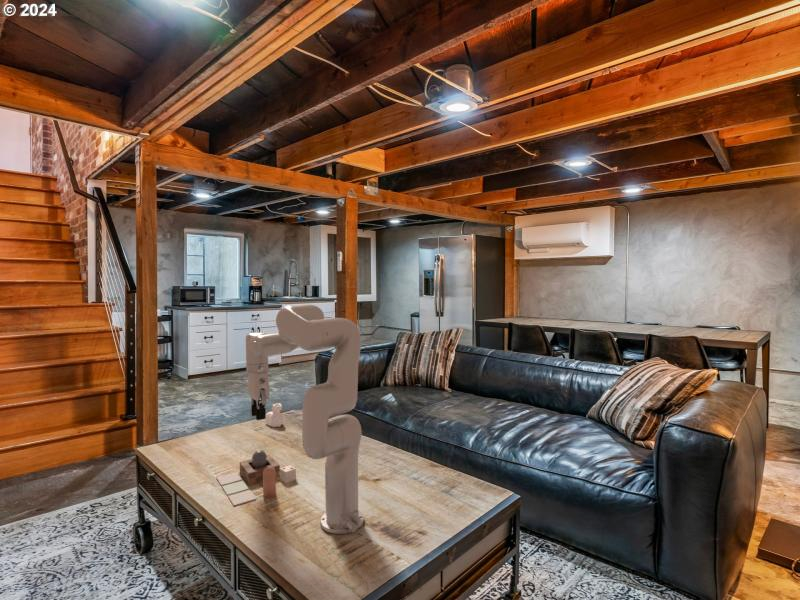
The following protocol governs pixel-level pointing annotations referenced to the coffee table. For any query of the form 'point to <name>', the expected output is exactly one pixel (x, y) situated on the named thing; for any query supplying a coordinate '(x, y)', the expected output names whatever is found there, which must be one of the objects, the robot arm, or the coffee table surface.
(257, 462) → the dome
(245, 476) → the frame
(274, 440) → the coffee table surface
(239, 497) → the tile strip
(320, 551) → the coffee table surface
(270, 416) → the bust
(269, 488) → the brown rounded cylinder piece
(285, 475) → the die
